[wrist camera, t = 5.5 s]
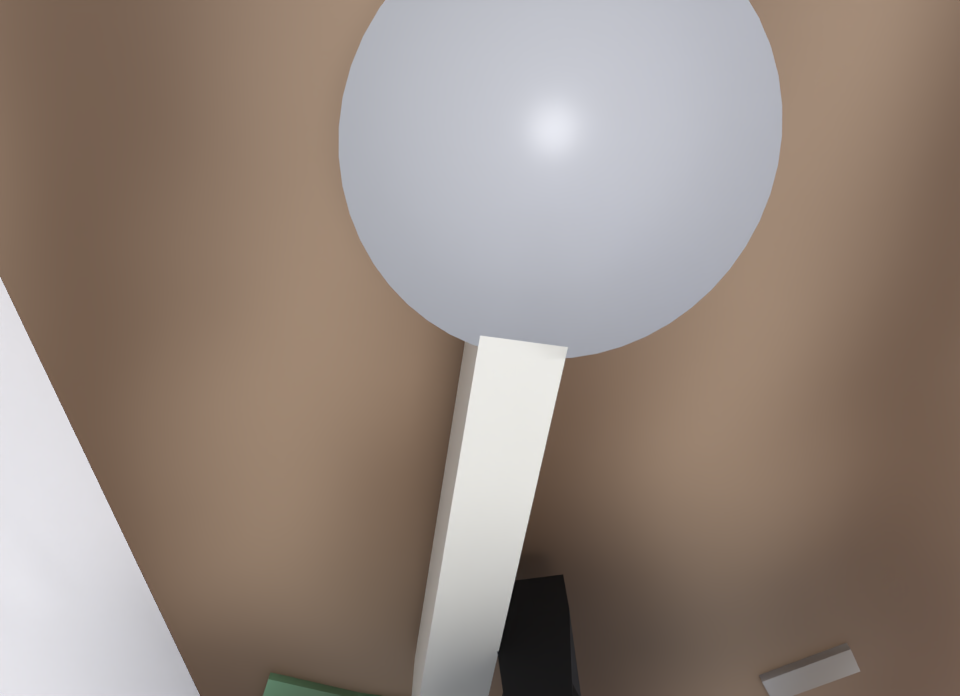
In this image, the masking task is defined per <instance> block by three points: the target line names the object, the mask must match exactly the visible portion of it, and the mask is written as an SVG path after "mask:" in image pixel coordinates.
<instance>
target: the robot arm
mask: <svg viewBox="0 0 960 696" xmlns="http://www.w3.org/2000/svg"><path fill="white" fill-rule="evenodd" d="M497 654H498V661H499V668H500V675H501V682H502V689H503V694H502V696H581V692H580V684H579V677H578V670H577V662H576V655H575V647H574V640H573V632H572V625H571V618H570V610H569V604H568V599H567V593H566V587H565V582H564V576H563V574H561V575H554V576H546V577H538V578H530V579H522V580H515V582H514V586H513V590H512V595H511V599H510V604H509V608H508V612H507V617H506V621H505V626H504V630H503V634H502V639H501V643H500V647H499V651H497Z"/></svg>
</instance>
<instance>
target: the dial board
mask: <svg viewBox="0 0 960 696" xmlns="http://www.w3.org/2000/svg"><path fill="white" fill-rule="evenodd" d="M384 1H385V0H0V277H1V279H2V281H3V283H4V285H5V287H6V290H7V292H8V294H9V296H10V298H11V300H12V302H13V304H14V306H15V308H16V311H17V313H18V315H19V317H20V319H21V321H22V323H23V325H24V327H25V329H26V331H27V334H28V336H29V338H30V340H31V342H32V344H33V346H34V348H35V350H36V352H37V355H38V357H39V359H40V361H41V363H42V365H43V367H44V369H45V371H46V373H47V375H48V378H49V380H50V382H51V384H52V386H53V388H54V390H55V392H56V394H57V396H58V399H59V401H60V403H61V405H62V407H63V409H64V411H65V413H66V415H67V417H68V419H69V422H70V424H71V426H72V428H73V430H74V432H75V434H76V436H77V438H78V440H79V443H80V445H81V447H82V449H83V451H84V453H85V455H86V457H87V459H88V461H89V463H90V466H91V468H92V470H93V472H94V474H95V476H96V478H97V480H98V482H99V484H100V487H101V489H102V491H103V493H104V495H105V497H106V499H107V501H108V503H109V505H110V507H111V510H112V512H113V514H114V516H115V518H116V520H117V522H118V524H119V526H120V528H121V531H122V533H123V535H124V537H125V539H126V541H127V543H128V545H129V547H130V549H131V551H132V554H133V556H134V558H135V560H136V562H137V564H138V566H139V568H140V570H141V572H142V575H143V577H144V579H145V581H146V583H147V585H148V587H149V589H150V591H151V593H152V595H153V598H154V600H155V602H156V604H157V606H158V608H159V610H160V612H161V614H162V616H163V619H164V621H165V623H166V625H167V627H168V629H169V631H170V633H171V635H172V637H173V639H174V642H175V644H176V646H177V648H178V650H179V652H180V654H181V656H182V658H183V660H184V663H185V665H186V667H187V669H188V671H189V673H190V675H191V677H192V679H193V681H194V683H195V686H196V688H197V690H198V692H199V694H200V696H412V685H413V673H414V661H415V654H416V647H417V641H418V635H419V628H420V622H421V616H422V609H423V603H424V597H425V590H426V584H427V578H428V572H429V565H430V559H431V553H432V546H433V540H434V534H435V527H436V521H437V515H438V508H439V502H440V496H441V490H442V483H443V477H444V471H445V464H446V458H447V452H448V445H449V439H450V433H451V426H452V420H453V414H454V408H455V401H456V395H457V389H458V382H459V376H460V370H461V363H462V357H463V351H464V344H465V341H463V340H461V339H459V338H457V337H455V336H452V335H450V334H448V333H447V332H445V331H444V330H442V329H440V328H439V327H437V326H436V325H434V324H432V323H431V322H429V321H428V320H426V319H425V318H424V317H423V316H421V315H420V314H419V313H418V312H416V311H415V310H414V309H413V308H412V307H410V306H409V305H408V304H407V303H406V302H405V301H404V300H403V299H402V298H401V297H400V296H399V295H398V294H397V293H396V292H395V291H394V290H393V289H392V287H391V286H390V285H389V284H388V283H387V281H386V280H385V279H384V277H383V276H382V275H381V273H380V272H379V271H378V269H377V268H376V267H375V265H374V264H373V262H372V260H371V258H370V257H369V255H368V253H367V251H366V250H365V248H364V246H363V244H362V242H361V241H360V238H359V236H358V233H357V231H356V228H355V226H354V223H353V221H352V219H351V216H350V213H349V209H348V206H347V202H346V198H345V194H344V190H343V186H342V179H341V171H340V163H339V121H340V114H341V106H342V98H343V94H344V90H345V86H346V82H347V79H348V75H349V71H350V67H351V64H352V62H353V60H354V57H355V55H356V52H357V50H358V47H359V45H360V42H361V40H362V38H363V36H364V34H365V32H366V30H367V29H368V27H369V25H370V23H371V22H372V20H373V18H374V16H375V15H376V13H377V11H378V9H379V8H380V6H381V5H382V4H383V3H384ZM749 2H750V3H751V5H752V7H753V8H754V10H755V12H756V13H757V15H758V17H759V19H760V21H761V24H762V26H763V29H764V31H765V33H766V36H767V38H768V40H769V43H770V45H771V49H772V53H773V56H774V60H775V64H776V68H777V72H778V75H779V83H780V92H781V100H782V139H781V147H780V154H779V161H778V167H777V171H776V175H775V178H774V182H773V186H772V190H771V194H770V196H769V199H768V201H767V204H766V206H765V209H764V211H763V214H762V216H761V219H760V221H759V223H758V225H757V227H756V229H755V230H754V232H753V234H752V236H751V238H750V240H749V242H748V243H747V245H746V247H745V248H744V250H743V251H742V253H741V254H740V255H739V257H738V258H737V260H736V261H735V263H734V264H733V265H732V267H731V268H730V270H729V271H728V272H727V273H726V274H725V275H724V276H723V277H722V279H721V280H720V281H719V282H718V283H717V284H716V285H715V286H714V288H713V289H712V290H711V291H710V292H709V293H707V294H706V295H705V296H704V297H703V298H702V299H701V300H700V301H699V302H697V303H696V304H695V305H694V306H693V307H692V308H691V309H689V310H688V311H686V312H685V313H684V314H682V315H681V316H679V317H678V318H677V319H675V320H674V321H672V322H671V323H670V324H668V325H666V326H664V327H662V328H661V329H659V330H657V331H655V332H653V333H652V334H650V335H648V336H646V337H644V338H641V339H639V340H637V341H634V342H632V343H629V344H627V345H624V346H622V347H619V348H615V349H612V350H608V351H605V352H601V353H598V354H592V355H586V356H580V357H574V358H565V363H564V367H563V371H562V376H561V380H560V385H559V389H558V393H557V398H556V402H555V407H554V411H553V415H552V420H551V424H550V428H549V433H548V437H547V442H546V446H545V450H544V455H543V459H542V463H541V468H540V472H539V477H538V481H537V485H536V490H535V494H534V499H533V503H532V507H531V512H530V516H529V520H528V525H527V529H526V534H525V538H524V542H523V547H522V551H521V555H520V560H519V564H518V569H517V573H516V577H515V580H522V579H530V578H538V577H546V576H554V575H561V574H563V576H564V582H565V587H566V593H567V599H568V604H569V610H570V618H571V625H572V632H573V640H574V647H575V655H576V662H577V670H578V677H579V684H580V692H581V696H960V0H749ZM502 694H503V689H502V682H501V675H500V668H499V661H498V656H497V661H496V665H495V669H494V674H493V678H492V682H491V687H490V691H489V696H502Z"/></svg>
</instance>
